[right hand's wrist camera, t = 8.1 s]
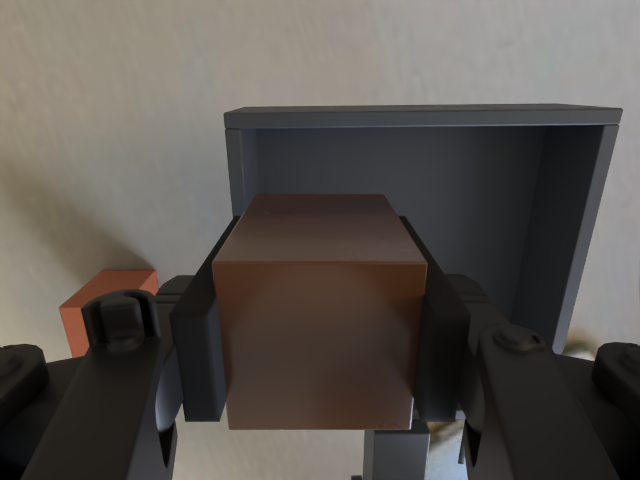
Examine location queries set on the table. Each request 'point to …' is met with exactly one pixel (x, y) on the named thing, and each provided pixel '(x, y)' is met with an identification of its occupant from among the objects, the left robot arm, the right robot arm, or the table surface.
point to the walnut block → (319, 314)
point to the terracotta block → (93, 289)
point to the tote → (448, 201)
